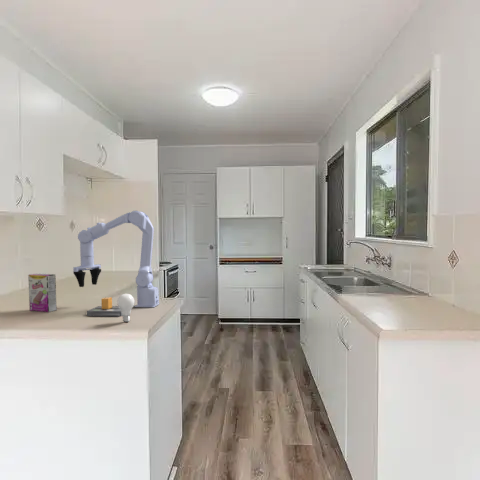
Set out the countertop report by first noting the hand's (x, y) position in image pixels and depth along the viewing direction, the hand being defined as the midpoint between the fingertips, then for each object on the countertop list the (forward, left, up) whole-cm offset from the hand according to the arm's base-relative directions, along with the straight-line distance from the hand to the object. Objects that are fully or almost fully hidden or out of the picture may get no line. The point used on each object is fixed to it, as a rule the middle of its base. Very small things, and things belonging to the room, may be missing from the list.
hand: (88, 285), depth 180 cm
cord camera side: (-17, +18, -10) cm, 27 cm away
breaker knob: (-15, +13, -8) cm, 21 cm away
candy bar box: (+17, +9, -10) cm, 22 cm away
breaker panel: (-16, +13, -10) cm, 23 cm away
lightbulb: (-30, +27, -10) cm, 42 cm away
